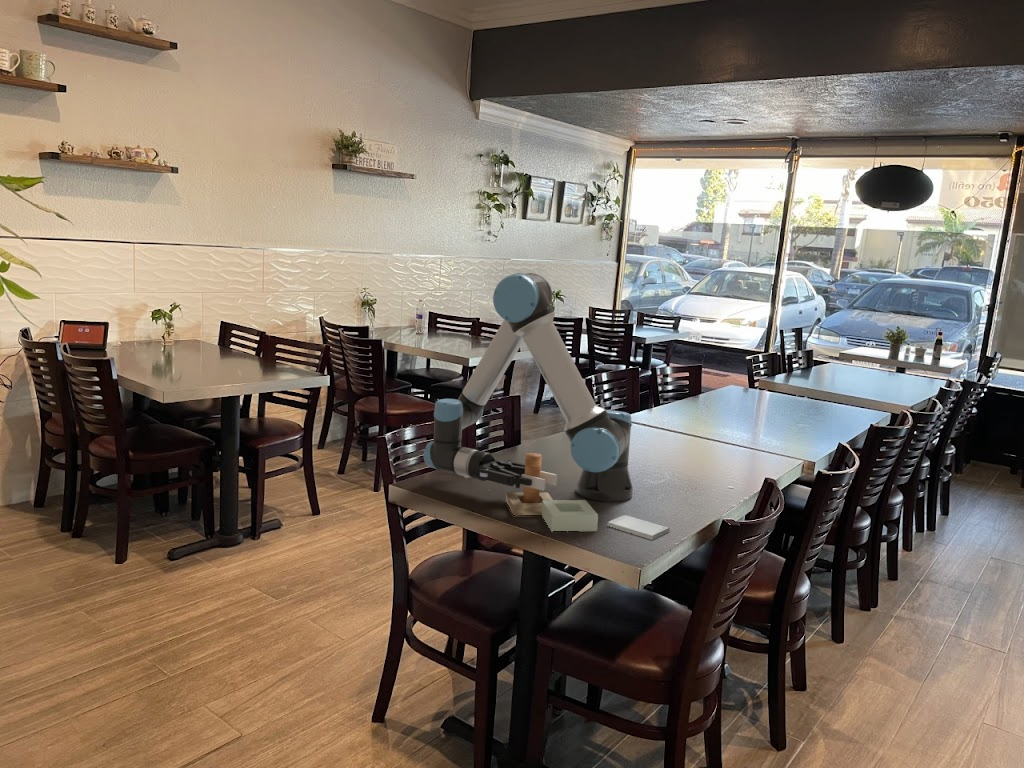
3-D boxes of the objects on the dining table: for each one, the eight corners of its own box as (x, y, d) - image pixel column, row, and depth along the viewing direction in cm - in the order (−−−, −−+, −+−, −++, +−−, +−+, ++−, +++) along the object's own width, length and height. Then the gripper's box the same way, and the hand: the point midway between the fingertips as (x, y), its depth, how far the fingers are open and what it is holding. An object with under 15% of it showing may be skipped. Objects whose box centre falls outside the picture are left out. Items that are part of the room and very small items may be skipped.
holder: (547, 501, 204) (547, 492, 204) (556, 515, 194) (557, 506, 193) (505, 502, 202) (505, 492, 202) (513, 516, 192) (513, 506, 191)
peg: (536, 506, 200) (539, 453, 198) (540, 511, 196) (543, 457, 194) (521, 506, 199) (524, 452, 197) (524, 511, 196) (527, 457, 193)
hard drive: (670, 527, 187) (625, 513, 194) (652, 535, 180) (607, 521, 188) (669, 534, 187) (625, 520, 195) (652, 542, 181) (606, 527, 188)
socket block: (584, 515, 195) (585, 500, 194) (596, 531, 184) (598, 514, 184) (541, 516, 193) (542, 500, 192) (551, 531, 182) (552, 515, 182)
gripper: (494, 471, 214) (567, 489, 202) (453, 485, 200) (529, 505, 187) (495, 444, 213) (569, 460, 200) (454, 456, 199) (531, 475, 186)
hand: (550, 482), depth 194 cm, fingers open, 5 cm apart
